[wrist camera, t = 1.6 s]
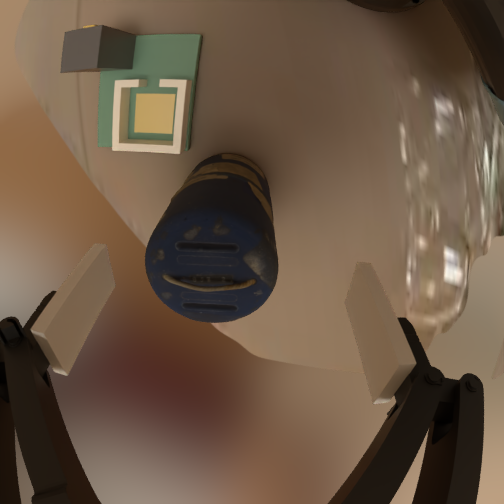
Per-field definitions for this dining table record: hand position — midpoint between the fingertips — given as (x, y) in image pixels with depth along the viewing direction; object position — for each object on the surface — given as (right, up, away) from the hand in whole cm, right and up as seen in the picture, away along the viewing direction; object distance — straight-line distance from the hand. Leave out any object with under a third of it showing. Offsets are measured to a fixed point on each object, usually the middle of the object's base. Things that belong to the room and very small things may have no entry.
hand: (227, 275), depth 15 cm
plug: (-13, +22, +9) cm, 28 cm away
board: (-10, +19, +13) cm, 25 cm away
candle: (-1, +8, +19) cm, 21 cm away
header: (-9, +16, +13) cm, 23 cm away
